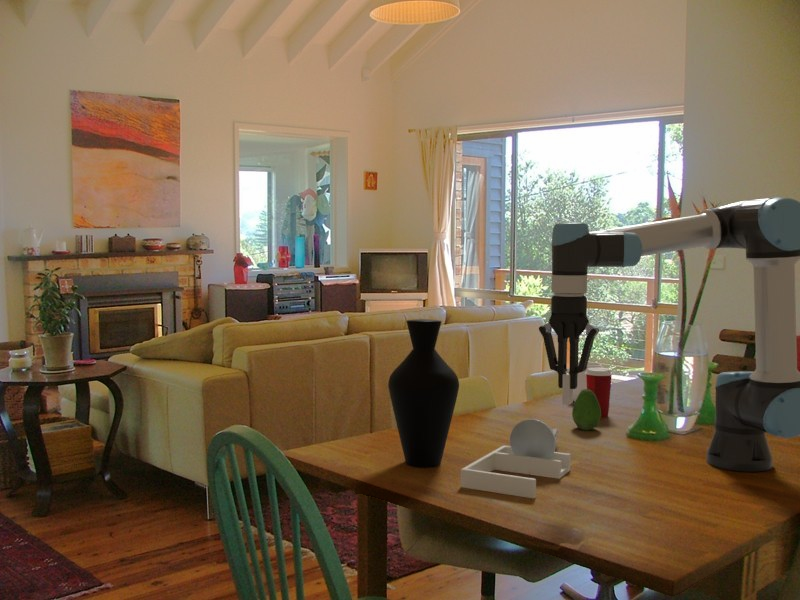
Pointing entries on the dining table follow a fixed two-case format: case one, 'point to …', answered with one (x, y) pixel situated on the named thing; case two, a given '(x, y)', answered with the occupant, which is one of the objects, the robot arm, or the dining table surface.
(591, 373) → the coffee cup
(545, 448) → the grey plate
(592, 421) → the fruit
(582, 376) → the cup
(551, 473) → the dish rack
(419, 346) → the vase
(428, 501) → the dining table surface
